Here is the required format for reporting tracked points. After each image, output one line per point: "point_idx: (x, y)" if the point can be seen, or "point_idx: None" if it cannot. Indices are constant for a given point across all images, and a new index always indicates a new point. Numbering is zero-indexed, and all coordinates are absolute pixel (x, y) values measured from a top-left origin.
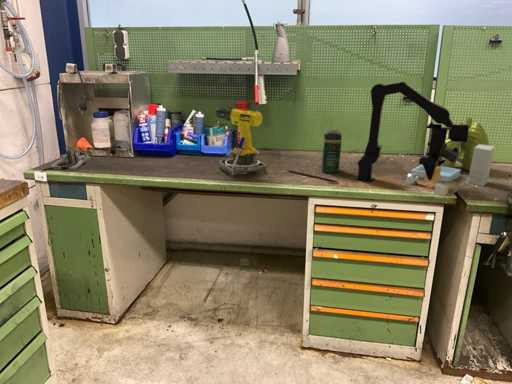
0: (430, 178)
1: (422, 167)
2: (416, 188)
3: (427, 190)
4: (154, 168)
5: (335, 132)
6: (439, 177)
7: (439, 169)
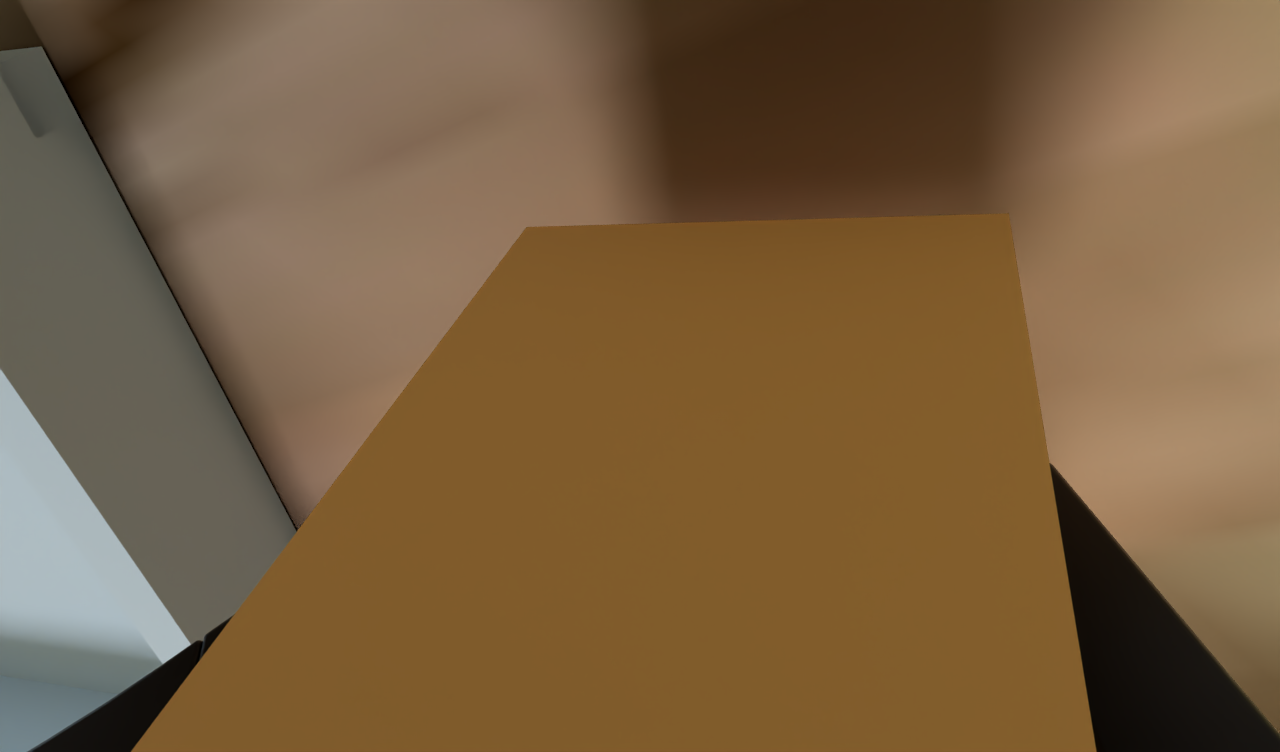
0: (1078, 528)
1: None
2: (1226, 519)
3: (1275, 238)
4: None
5: None
6: (485, 308)
7: (502, 700)
